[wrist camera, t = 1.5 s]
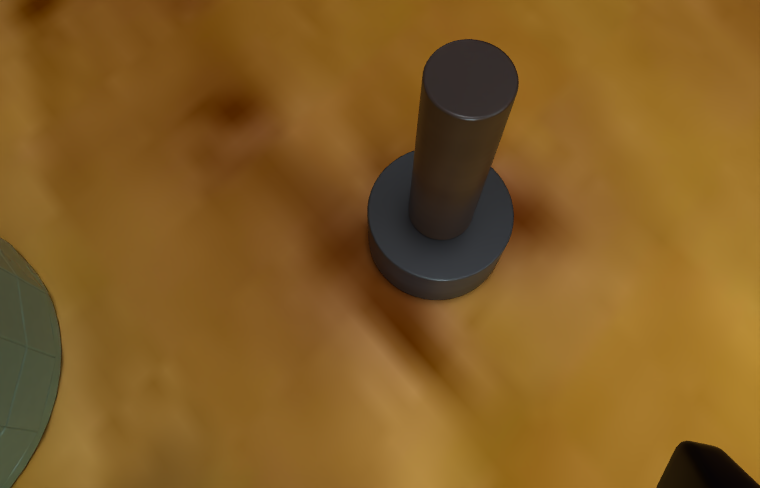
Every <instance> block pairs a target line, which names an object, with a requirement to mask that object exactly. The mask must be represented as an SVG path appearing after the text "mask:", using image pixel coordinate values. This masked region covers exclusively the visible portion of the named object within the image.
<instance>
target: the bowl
mask: <svg viewBox="0 0 760 488" xmlns="http://www.w3.org/2000/svg"><path fill="white" fill-rule="evenodd" d="M60 368H61V342H60V331H59V326H58V321H57V317H56V313H55V309H54V306H53V304H52V301H51V299H50V297H49V294H48V292H47V289H46V288H45V286H44V284H43V283H42V281H41V280H40V278H39V276H38V275H37V273H36V272H35V271H34V269H33V268H32V267H31V266H30V265H29V264H28V262H27V261H26V260H25V259H24V258H23V257H22V256H21V255H19V254H18V253H17V252H16V250H15V249H14V248H13V246H12V245H10V244H9V243H8V242H6V241H5V240H3V239H2V238H0V488H10V487H11V486H12V485H13V483H14V482H15V480H16V479H17V478H18V476H19V475H20V474H21V472H22V471H23V469H24V468H25V467H26V465H27V463H28V461H29V460H30V458H31V456H32V454H33V453H34V451H35V449H36V447H37V446H38V444H39V442H40V439H41V437H42V435H43V433H44V430H45V428H46V426H47V423H48V421H49V418H50V415H51V412H52V408H53V405H54V402H55V398H56V394H57V389H58V383H59V377H60Z"/></svg>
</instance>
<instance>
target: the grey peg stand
mask: <svg viewBox="0 0 760 488" xmlns="http://www.w3.org/2000/svg"><path fill="white" fill-rule="evenodd" d="M518 84H519V81H518V74H517V71H516V68H515V66H514V64H513V62H512V61H511V59H510V58H509V57H508V56H507V55H506V54H505V53H504V52H503V51H502V50H500V49H499V48H497V47H496V46H494V45H492V44H490V43H487V42H484V41H480V40H473V39H464V40H457V41H453V42H450V43H448V44H446V45H444V46H442V47H440V48H439V49H438V50H436V51H435V52H434V53H433V54H432V55H431V57H430V58H429V59H428V61H427V63H426V65H425V67H424V71H423V77H422V86H421V96H420V105H419V114H418V124H417V133H416V143H415V151H412V152H409V153H407V154H405V155H403V156H401V157H399V158H398V159H396V160H395V161H393V162H392V163H391V164H390V165H389V166H387V167H386V168H385V169H384V171H383V172H382V173H381V174H380V175H379V177H378V178H377V180H376V182H375V183H374V186H373V188H372V190H371V193H370V196H369V201H368V214H367V216H368V238H369V247H370V251H371V254H372V257H373V260H374V262H375V264H376V266H377V267H378V269H379V271H380V272H381V273H382V274H383V276H384V277H385V278H386V279H387V280H388V281H389V282H390V283H391V284H393V285H394V286H395V287H397V288H398V289H400V290H402V291H403V292H405V293H407V294H410V295H412V296H415V297H419V298H423V299H430V300H445V299H451V298H455V297H459V296H462V295H464V294H466V293H468V292H470V291H472V290H474V289H475V288H477V287H478V286H479V285H480V284H482V283H483V282H484V281H485V280H486V279H487V278H488V276H489V275H490V274H491V272H492V271H493V269H494V267H495V265H496V264H497V262H498V260H499V258H500V256H501V254H502V253H503V251H504V249H505V247H506V245H507V243H508V241H509V239H510V236H511V233H512V228H513V220H514V213H513V205H512V200H511V197H510V194H509V192H508V189H507V187H506V186H505V184H504V182H503V180H502V179H501V178H500V176H499V175H498V174H497V173H496V172H495V171H494V169H493V168H492V167H491V165H492V162H493V159H494V156H495V153H496V151H497V148H498V145H499V142H500V139H501V137H502V134H503V131H504V128H505V125H506V122H507V120H508V117H509V114H510V111H511V108H512V106H513V103H514V100H515V97H516V94H517V91H518Z"/></svg>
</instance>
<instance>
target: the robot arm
mask: <svg viewBox="0 0 760 488" xmlns="http://www.w3.org/2000/svg"><path fill="white" fill-rule="evenodd" d="M657 488H760V485H758V484H757V483H756V482H755V481H754V480H753V479H752V478H751V477H750V476H749V475H748V474H747V473H746V472H745V471H744V470H743V469H742V468H741V467H740V466H739V465H738V464H736V463H735V462H734V461H733V460H732V459H731V458H730V457H729V456H728V455H727V454H726V453H725V452H724V451H723V450H721V449H720V448H718V447H715V446H712V445H707V444H702V443H697V442H692V441H683V442H681V443H680V444H679V445H678V446H677V447H676V449H675V451H674V453H673V455H672V457H671V459H670V461H669V463H668V465H667V467H666V469H665V471H664V473H663V475H662V477H661V479H660V481H659V483H658V485H657Z"/></svg>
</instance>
